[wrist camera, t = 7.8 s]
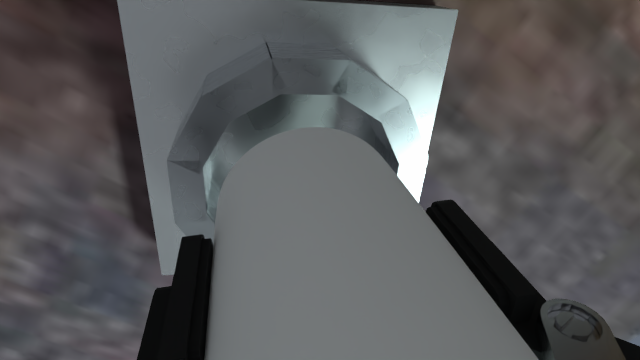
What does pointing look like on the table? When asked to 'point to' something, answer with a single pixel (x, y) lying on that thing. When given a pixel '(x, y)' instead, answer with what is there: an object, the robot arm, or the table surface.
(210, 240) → the robot arm
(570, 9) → the table surface
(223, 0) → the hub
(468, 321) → the can
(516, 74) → the table surface
